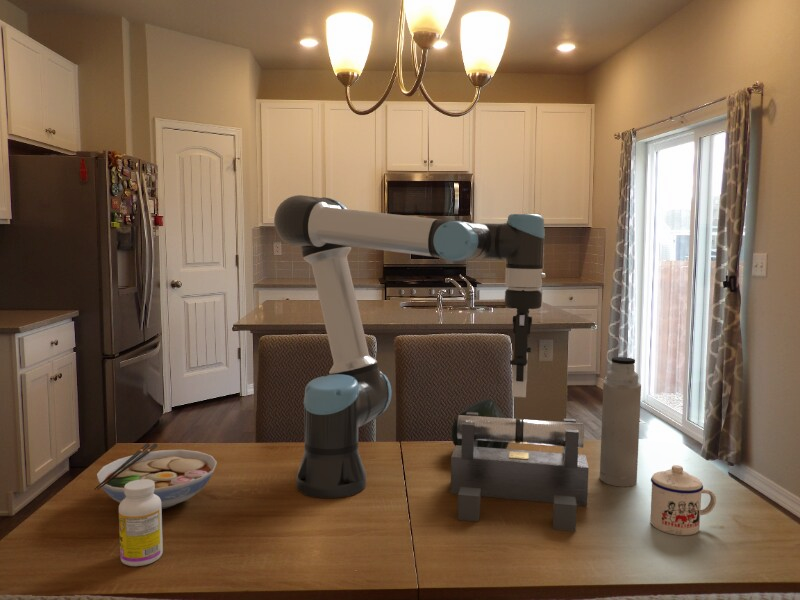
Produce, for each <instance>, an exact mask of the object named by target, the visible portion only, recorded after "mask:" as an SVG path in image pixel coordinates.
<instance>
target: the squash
mask: <svg viewBox="0 0 800 600" xmlns="http://www.w3.org/2000/svg"><path fill="white" fill-rule="evenodd" d="M467 412H476V413H478V416H481V417H496V418H506V416H505V415H504V413H503V412H502V411H501V409H500V408H499V407H498V405H497V403H496V402H495V400H494V398H487V399H482V400H480V401H478V402H476V403H474V404H471V405H470V406H468V407H467V408H464V410H461V412H460V413H458V414H457V416H456V418H455V419H454V422H453V424H452V427H451V440H452V443H453V445H454V447H455V446H456V445H459V446H462V439H458V438H457V424H458V416H459V415H465V416H466V413H467ZM509 443H510V442H498V441H484V440H478V444H477V447H485V448H499V449H508V446H509Z"/></svg>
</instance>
